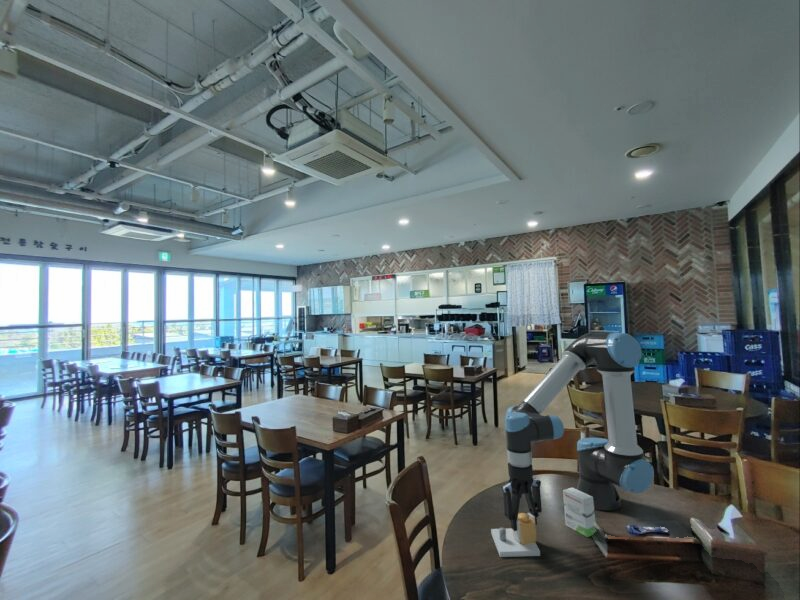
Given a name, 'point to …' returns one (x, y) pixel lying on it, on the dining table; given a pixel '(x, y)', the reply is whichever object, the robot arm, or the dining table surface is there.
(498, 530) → the plate
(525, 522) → the tan stud block
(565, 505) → the ink box
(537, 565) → the dining table surface
